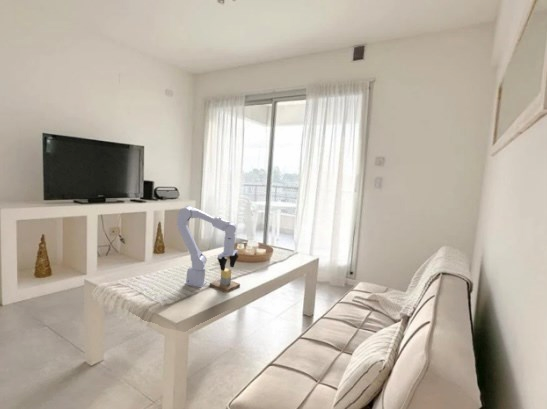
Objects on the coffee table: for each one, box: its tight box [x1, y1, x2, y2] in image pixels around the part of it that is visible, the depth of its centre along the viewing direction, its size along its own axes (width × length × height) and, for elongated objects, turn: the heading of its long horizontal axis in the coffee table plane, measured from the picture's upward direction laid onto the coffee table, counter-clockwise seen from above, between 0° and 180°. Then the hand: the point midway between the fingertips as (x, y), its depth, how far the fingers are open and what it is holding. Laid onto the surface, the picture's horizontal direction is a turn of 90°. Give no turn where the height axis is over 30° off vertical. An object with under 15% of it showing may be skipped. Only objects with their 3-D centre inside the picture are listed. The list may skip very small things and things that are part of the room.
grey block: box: [220, 276, 232, 286], centre depth 170 cm, size 4×4×4 cm
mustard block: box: [220, 267, 233, 279], centre depth 170 cm, size 4×4×4 cm
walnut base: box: [209, 278, 241, 293], centre depth 170 cm, size 12×12×2 cm
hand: (227, 268), depth 169 cm, fingers open, 7 cm apart
